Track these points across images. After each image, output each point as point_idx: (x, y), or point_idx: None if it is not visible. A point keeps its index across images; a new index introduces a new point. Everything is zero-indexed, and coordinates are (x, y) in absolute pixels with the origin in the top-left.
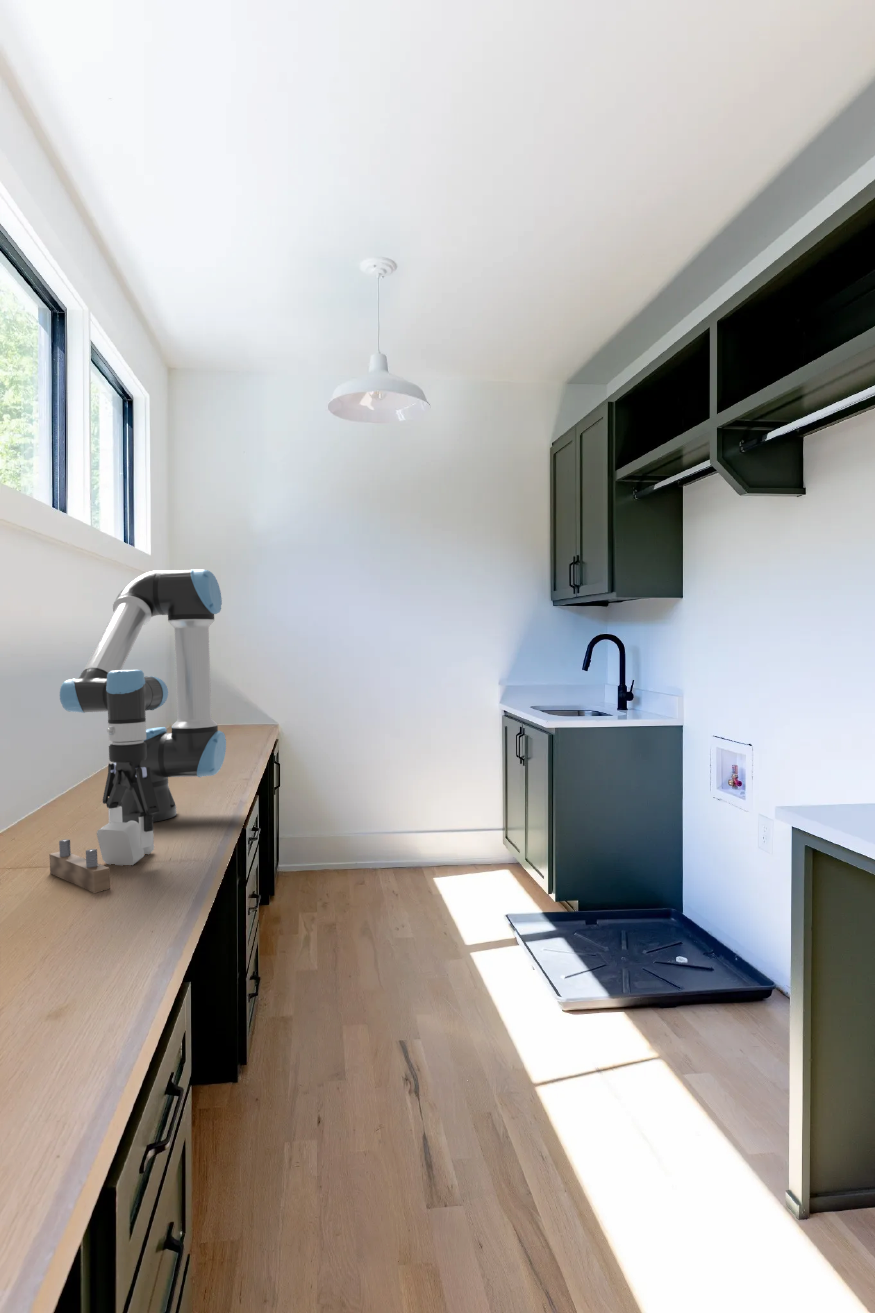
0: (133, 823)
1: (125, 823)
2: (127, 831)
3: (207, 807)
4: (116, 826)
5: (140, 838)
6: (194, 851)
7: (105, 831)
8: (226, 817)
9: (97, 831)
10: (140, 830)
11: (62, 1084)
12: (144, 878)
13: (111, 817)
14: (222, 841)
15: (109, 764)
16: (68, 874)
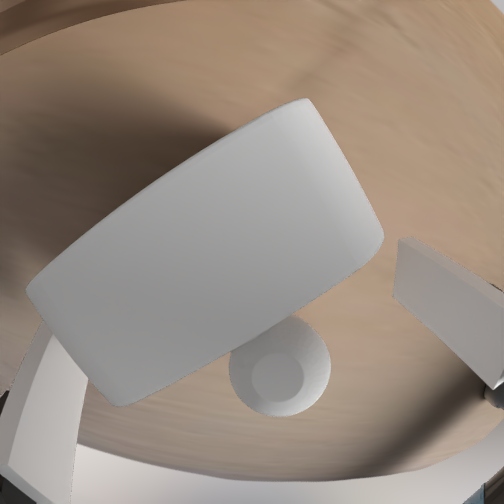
0: (123, 404)
1: (177, 361)
2: (37, 310)
3: (470, 432)
4: (176, 271)
5: (36, 342)
6: (188, 432)
7: (205, 148)
8: (403, 465)
9: (301, 99)
10: (18, 379)
11: None
12: None
13: (478, 300)
14: (240, 476)
15: None
16: None
